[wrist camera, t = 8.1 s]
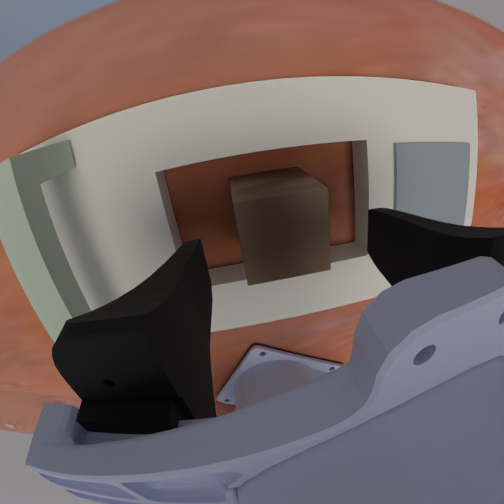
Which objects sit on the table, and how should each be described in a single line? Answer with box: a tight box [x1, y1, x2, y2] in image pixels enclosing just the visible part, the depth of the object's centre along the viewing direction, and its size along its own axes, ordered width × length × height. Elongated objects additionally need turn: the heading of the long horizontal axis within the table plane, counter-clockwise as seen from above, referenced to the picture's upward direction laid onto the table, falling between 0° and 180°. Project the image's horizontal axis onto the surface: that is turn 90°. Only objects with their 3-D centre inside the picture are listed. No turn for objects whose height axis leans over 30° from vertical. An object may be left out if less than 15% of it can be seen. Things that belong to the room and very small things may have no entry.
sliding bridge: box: [0, 140, 91, 343], centre depth 12 cm, size 2×13×5 cm, turn 9°
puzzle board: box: [19, 76, 478, 332], centre depth 16 cm, size 30×14×2 cm, turn 99°
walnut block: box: [229, 167, 331, 286], centre depth 15 cm, size 4×4×5 cm
